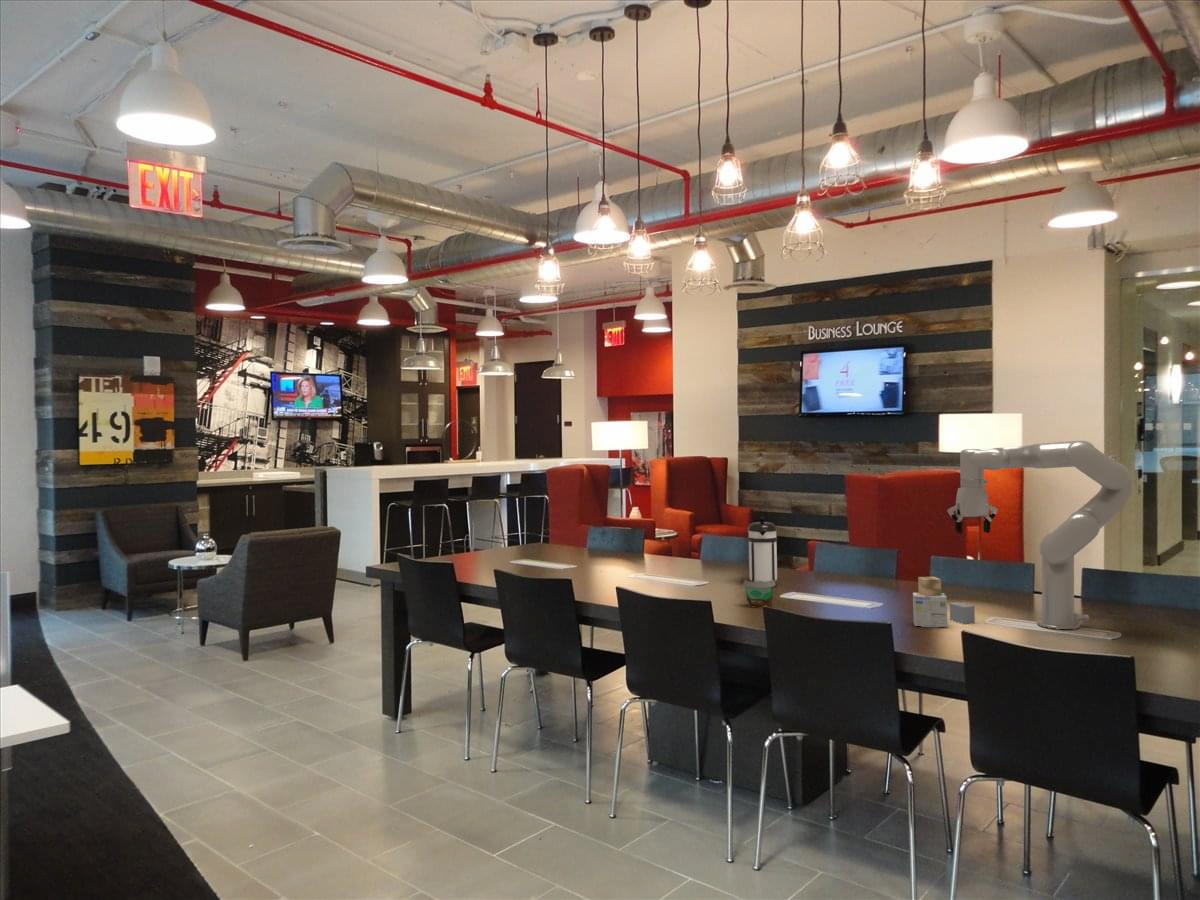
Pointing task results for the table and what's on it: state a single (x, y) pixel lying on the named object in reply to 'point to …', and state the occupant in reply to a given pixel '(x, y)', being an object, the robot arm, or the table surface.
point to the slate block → (962, 613)
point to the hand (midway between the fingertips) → (972, 532)
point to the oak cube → (929, 586)
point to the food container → (759, 593)
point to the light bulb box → (930, 610)
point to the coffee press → (762, 551)
